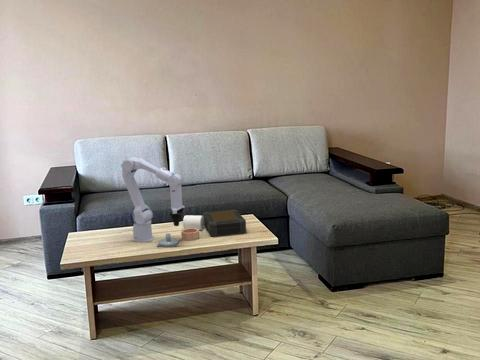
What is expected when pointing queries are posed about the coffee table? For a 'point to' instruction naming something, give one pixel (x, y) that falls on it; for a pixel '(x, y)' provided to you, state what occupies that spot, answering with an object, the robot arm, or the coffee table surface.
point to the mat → (169, 246)
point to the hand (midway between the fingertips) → (177, 223)
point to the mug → (193, 222)
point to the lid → (168, 241)
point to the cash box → (224, 223)
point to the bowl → (190, 234)
